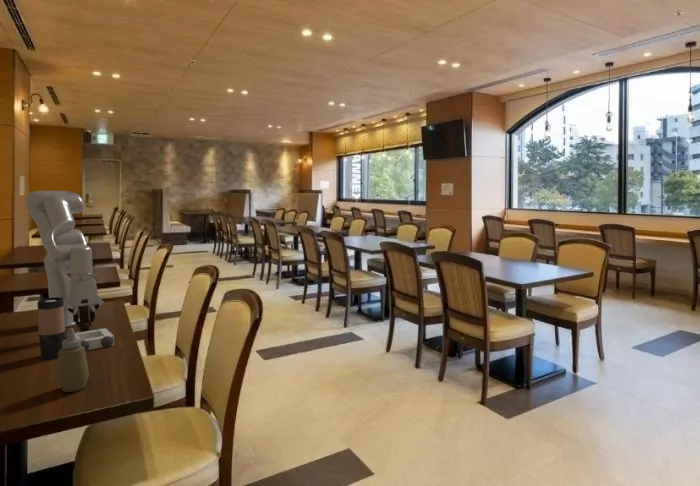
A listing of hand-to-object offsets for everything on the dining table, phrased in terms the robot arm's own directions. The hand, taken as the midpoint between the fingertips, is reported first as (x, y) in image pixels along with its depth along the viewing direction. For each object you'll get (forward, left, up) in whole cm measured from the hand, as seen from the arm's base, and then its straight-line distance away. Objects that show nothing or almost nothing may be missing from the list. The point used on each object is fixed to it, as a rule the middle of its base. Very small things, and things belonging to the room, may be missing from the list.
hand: (84, 321), depth 186 cm
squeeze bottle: (+55, -13, -6) cm, 57 cm away
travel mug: (+20, -13, -6) cm, 25 cm away
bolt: (0, 0, -6) cm, 6 cm away
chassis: (+14, 0, -5) cm, 15 cm away
